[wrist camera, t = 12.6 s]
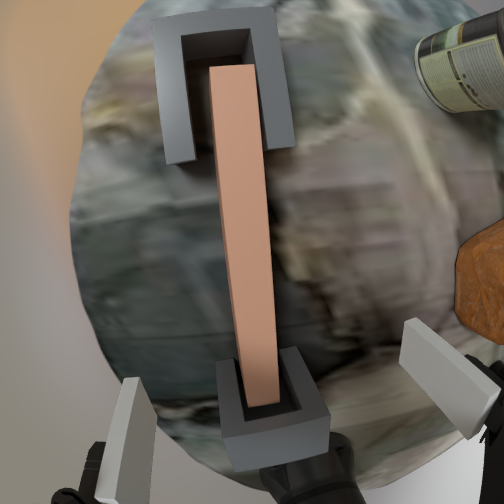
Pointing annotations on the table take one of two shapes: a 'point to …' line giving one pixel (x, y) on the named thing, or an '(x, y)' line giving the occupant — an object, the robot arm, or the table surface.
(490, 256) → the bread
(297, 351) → the cap
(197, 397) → the table surface
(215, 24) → the near end cap
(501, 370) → the french press
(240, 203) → the slat
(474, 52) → the coffee can
